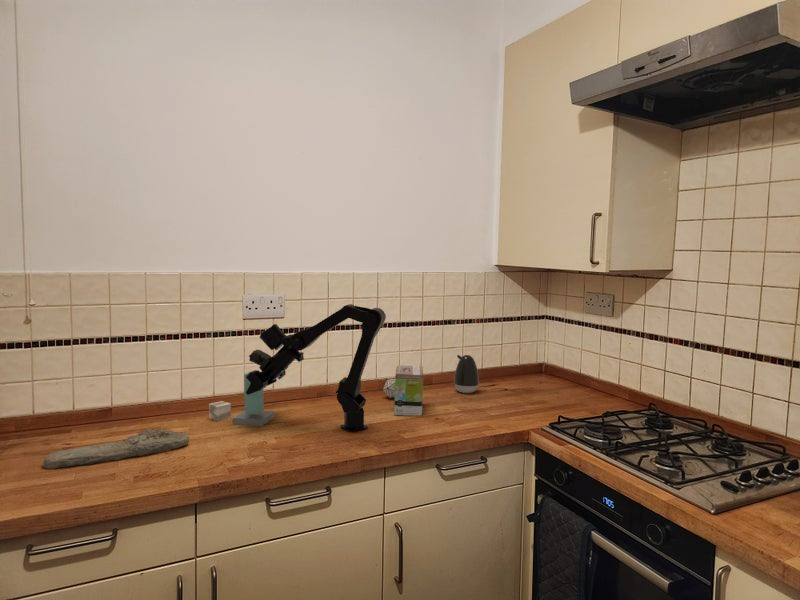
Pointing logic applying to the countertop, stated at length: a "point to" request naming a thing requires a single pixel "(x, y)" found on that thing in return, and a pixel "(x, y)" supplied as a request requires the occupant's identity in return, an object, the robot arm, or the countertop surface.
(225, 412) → the cream cube
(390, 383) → the game die
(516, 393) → the countertop surface
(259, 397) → the teal block
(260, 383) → the robot arm
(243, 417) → the slate slab
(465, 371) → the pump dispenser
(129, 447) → the long grey stone
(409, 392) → the tea box
